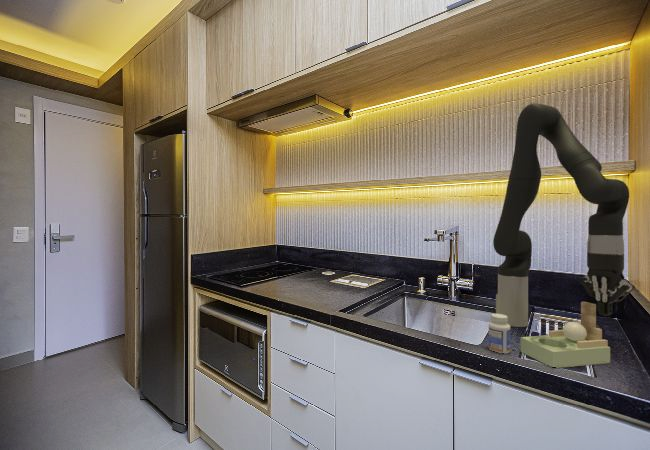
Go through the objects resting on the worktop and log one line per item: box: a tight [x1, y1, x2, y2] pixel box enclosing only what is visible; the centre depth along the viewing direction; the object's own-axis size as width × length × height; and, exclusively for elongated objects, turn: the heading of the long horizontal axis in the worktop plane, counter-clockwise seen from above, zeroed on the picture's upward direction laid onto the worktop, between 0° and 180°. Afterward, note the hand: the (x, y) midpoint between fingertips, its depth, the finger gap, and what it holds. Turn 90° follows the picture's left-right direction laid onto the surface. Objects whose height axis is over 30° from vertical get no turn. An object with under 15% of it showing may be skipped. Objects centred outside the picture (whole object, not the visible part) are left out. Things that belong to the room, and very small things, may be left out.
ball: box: [562, 321, 587, 342], centre depth 82 cm, size 5×5×5 cm
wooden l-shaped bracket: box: [575, 301, 603, 340], centre depth 83 cm, size 6×1×10 cm, turn 10°
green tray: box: [520, 329, 611, 369], centre depth 82 cm, size 10×17×6 cm, turn 100°
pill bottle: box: [488, 313, 512, 354], centre depth 86 cm, size 5×5×10 cm
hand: (604, 315), depth 84 cm, fingers closed
